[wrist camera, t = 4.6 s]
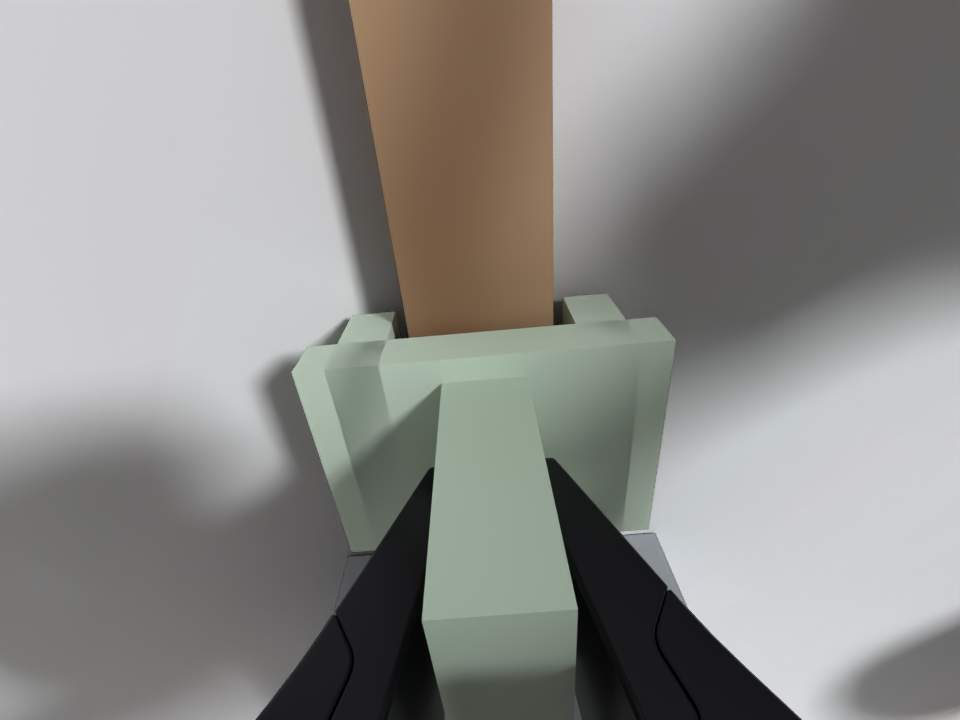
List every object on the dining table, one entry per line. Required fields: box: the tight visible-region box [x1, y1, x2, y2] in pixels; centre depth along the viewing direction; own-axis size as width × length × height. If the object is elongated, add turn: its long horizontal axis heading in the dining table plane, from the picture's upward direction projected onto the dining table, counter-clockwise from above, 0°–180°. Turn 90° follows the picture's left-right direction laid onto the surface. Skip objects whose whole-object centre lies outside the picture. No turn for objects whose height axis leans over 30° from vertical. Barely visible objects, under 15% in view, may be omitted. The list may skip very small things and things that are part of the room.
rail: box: [349, 0, 553, 338], centre depth 10 cm, size 3×18×1 cm, turn 5°
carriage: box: [291, 293, 676, 720], centre depth 9 cm, size 7×5×7 cm
